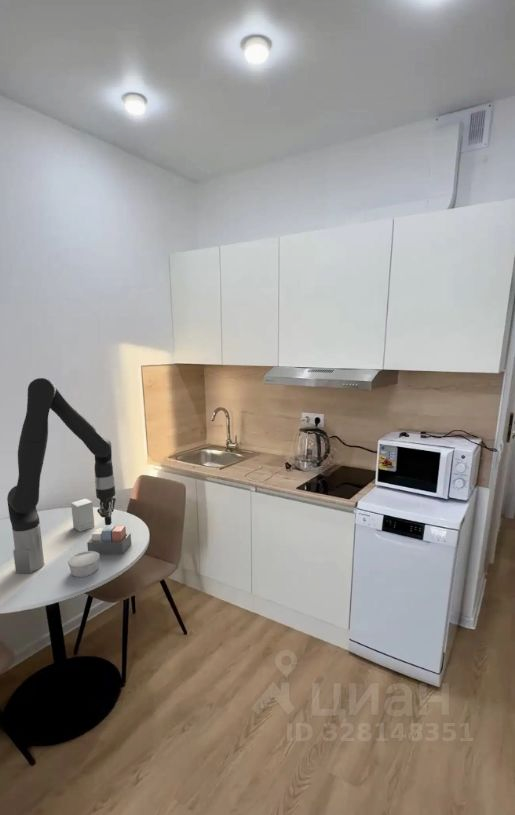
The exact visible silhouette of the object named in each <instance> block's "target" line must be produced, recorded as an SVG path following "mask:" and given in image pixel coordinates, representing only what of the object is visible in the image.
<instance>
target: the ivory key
mask: <svg viewBox="0 0 515 815" xmlns="http://www.w3.org/2000/svg"><path fill="white" fill-rule="evenodd" d="M103 529H104V528H101V527H100V528H96V529H95V530H94V531H93V532H92V533H91V538H92V541H102V530H103Z"/></svg>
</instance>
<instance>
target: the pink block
mask: <svg viewBox="0 0 515 815" xmlns="http://www.w3.org/2000/svg"><path fill="white" fill-rule="evenodd" d="M115 526H116V527H115V528H114V529H113V530H112V540H113V541H123V539H124V538H125V537H126V533H127V530H126V529H127V528H126V525H115Z"/></svg>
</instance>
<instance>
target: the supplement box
mask: <svg viewBox="0 0 515 815" xmlns="http://www.w3.org/2000/svg"><path fill="white" fill-rule="evenodd" d="M70 504H71V514H72V515H71V516H72V527H73V529H76V530H77V531H78V532H83V531H86V530H90V529H92V528H94V527H95V517H94V506H93V501H92V500H90V499H88V498H83V499H80V500H76V501H72V502H71V503H70Z"/></svg>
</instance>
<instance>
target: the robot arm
mask: <svg viewBox="0 0 515 815" xmlns="http://www.w3.org/2000/svg"><path fill="white" fill-rule="evenodd" d="M26 400H27V402H26V412H25V417H24V421H23V424H22V428H21V433H20V436H19V443H18V446H17V447H18V448H17V467H18V478H17V482H16V485H14V486H13V487H12V488H11V489H10V490H9V492H8V494H7V498H6V500H7V508H8V516H9V521H10V524H11V529H12V538H13V546H14V547H13V548H14V549H13V552H12V553H13V559H14V568H15V573H16V574H32V573H33V572H35V571H38V570H39V569H40V570H41V568H42V567H43V566H44V565H45V559H44V551H43V550H44V549H43V540H42V532H41V522H40V516H39V513H38V509H37V505H38V503H39V500H40V485H41V484H40V482H41V475H42V469H43V466H44V460H45V455H46V451H47V445H48V439H49V413H50V410H51V411H53V413H55V414H56V415H57V416H58V417H59V419H60V420H61V421H62V422H63V424H65V426H66V427H67V428H68V429H69V430H70V431H71V433H73V434H74V435H75V436H76V437H77V438H78V439H80V440H81V441H82V442H83V444H84V445H85V447H87V449H88V451H90V453H92V454H93V455H94V475H95V476H94V483H95V484H94V485H95V486H94V487H95V495H96V499H98V500H99V505H100V507H99V508H97V510H96V511H97V513H98V515H99V516H100V517H101V518H104V525H105V526H107V525H108V526H111V524H112V523H113V521H112V515H113V513H114V509H115V505H116V501H117V499H116V497H115V496H116V485H115V484H116V483H115V477H114V469H113V467H114V466H113V462H112V459H113V458H112V456H113V455H112V442H111V440H109V439H108V438H107V437H104V436H103V437H102V436H101V435H100V434H99V433H98V432H97V430H96V428H95V426H93V425H92V424H91V423H90V421H88V420H87V419H86V417H84V415H83V414H81V413H80V412H79V411H78V410H77V409H75V407H73V406H72V405H71V404H70V403H69V402H68V401H67V400H66V399H65V397H64V396H63V395H62V394H61V392H60V391H59V389H58V388H57V387H56V384H55V383H54V382H53V381H52V380H51V379H48V378H45V377H40V378H35V379H33V380H32V381H30V383H29V385H28V387H27V399H26Z"/></svg>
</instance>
